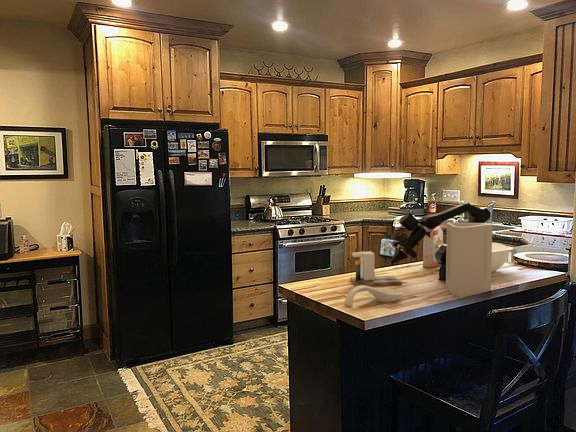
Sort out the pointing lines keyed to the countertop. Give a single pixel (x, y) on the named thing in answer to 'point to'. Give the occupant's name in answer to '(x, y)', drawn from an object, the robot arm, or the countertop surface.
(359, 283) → the walnut rail
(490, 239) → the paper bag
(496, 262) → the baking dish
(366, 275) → the white block with lip
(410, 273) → the countertop surface
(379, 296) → the spoon rest
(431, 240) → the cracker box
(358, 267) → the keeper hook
